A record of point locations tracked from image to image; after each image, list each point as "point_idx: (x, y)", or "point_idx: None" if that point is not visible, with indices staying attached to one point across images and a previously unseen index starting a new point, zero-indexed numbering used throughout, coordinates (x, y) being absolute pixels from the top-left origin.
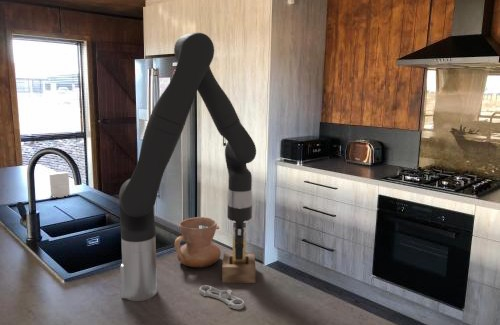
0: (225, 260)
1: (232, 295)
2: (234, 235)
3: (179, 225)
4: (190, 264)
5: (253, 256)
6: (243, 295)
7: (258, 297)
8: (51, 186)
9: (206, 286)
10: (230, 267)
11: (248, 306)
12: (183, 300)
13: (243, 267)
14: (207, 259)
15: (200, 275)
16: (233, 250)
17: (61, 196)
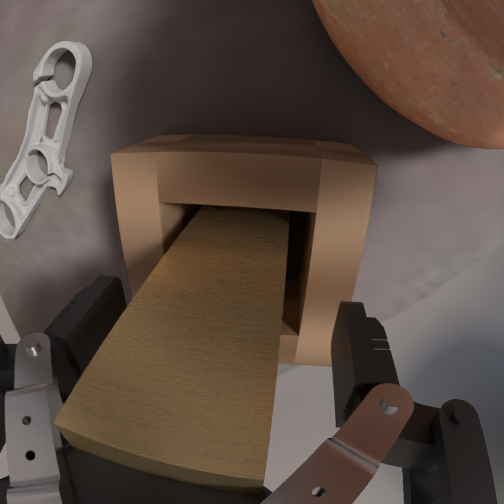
0: (226, 173)
1: (38, 196)
2: (11, 429)
3: None
4: None
5: (294, 359)
6: (68, 234)
7: (71, 284)
8: None
9: (77, 68)
10: (117, 210)
11: (21, 245)
12: (25, 11)
13: (130, 288)
14: (330, 24)
15: (249, 3)
16: (142, 292)
17: None
